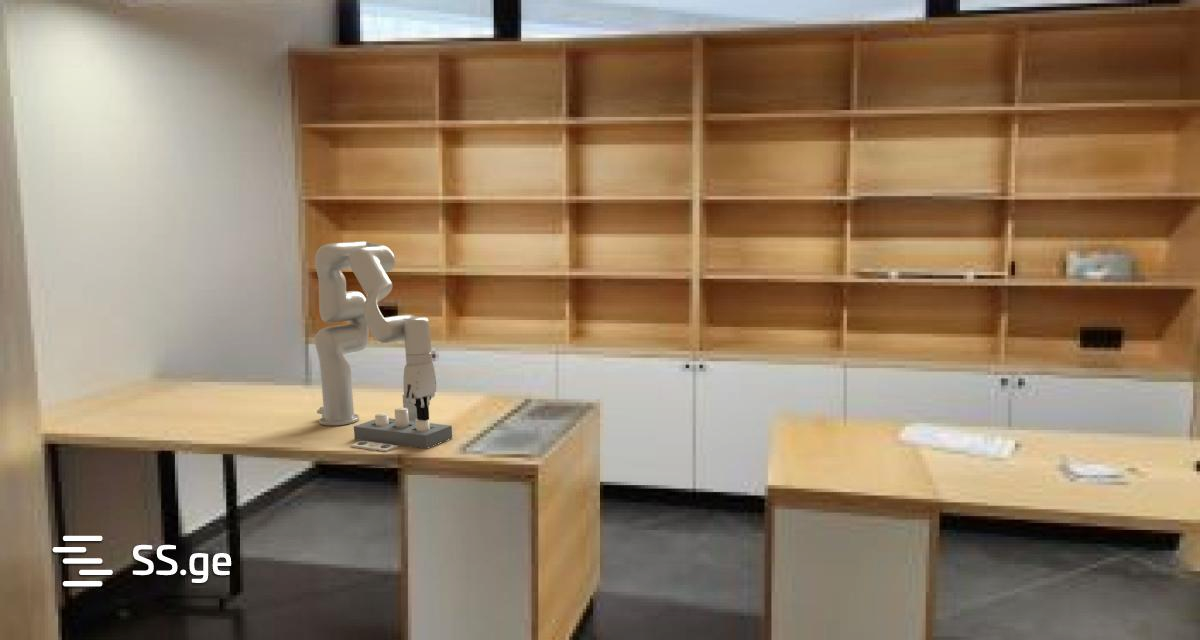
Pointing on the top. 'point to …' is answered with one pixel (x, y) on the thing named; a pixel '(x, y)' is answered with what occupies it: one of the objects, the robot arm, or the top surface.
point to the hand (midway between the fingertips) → (423, 419)
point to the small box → (410, 409)
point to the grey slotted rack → (403, 434)
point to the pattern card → (373, 446)
